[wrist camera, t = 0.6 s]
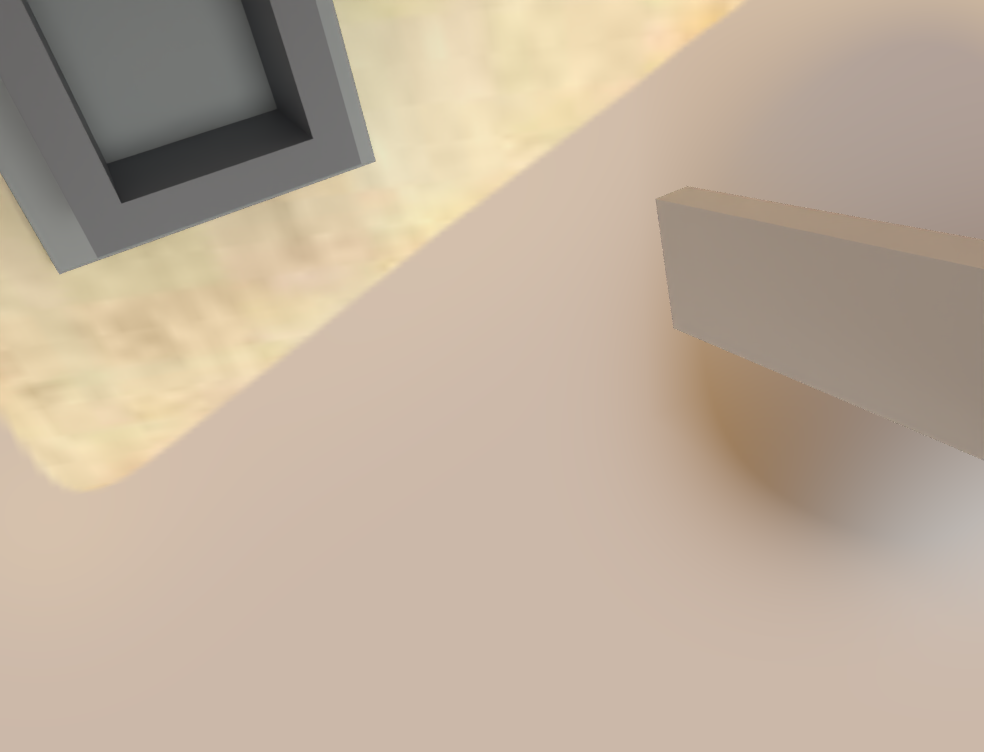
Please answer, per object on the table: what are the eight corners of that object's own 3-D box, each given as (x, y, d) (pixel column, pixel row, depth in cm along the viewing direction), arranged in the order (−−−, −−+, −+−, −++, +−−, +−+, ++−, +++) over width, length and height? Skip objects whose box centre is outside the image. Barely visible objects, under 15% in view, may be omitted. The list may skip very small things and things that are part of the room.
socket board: (-170, -134, 24) (-214, -138, 19) (262, -218, 28) (316, -238, 23) (57, 260, 32) (66, 327, 28) (364, 152, 36) (419, 194, 32)
